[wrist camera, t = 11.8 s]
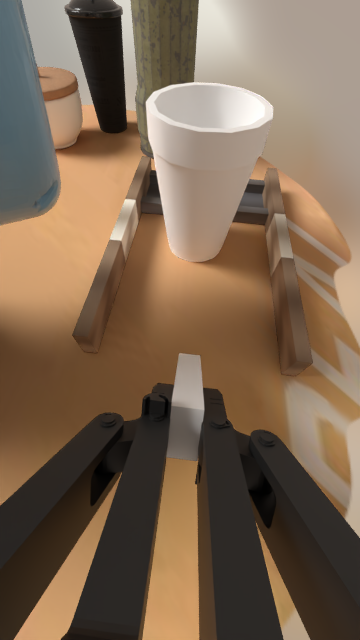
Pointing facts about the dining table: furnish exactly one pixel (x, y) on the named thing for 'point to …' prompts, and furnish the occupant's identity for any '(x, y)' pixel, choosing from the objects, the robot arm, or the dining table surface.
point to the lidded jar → (61, 105)
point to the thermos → (162, 51)
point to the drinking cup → (101, 58)
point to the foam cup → (204, 159)
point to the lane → (254, 207)
